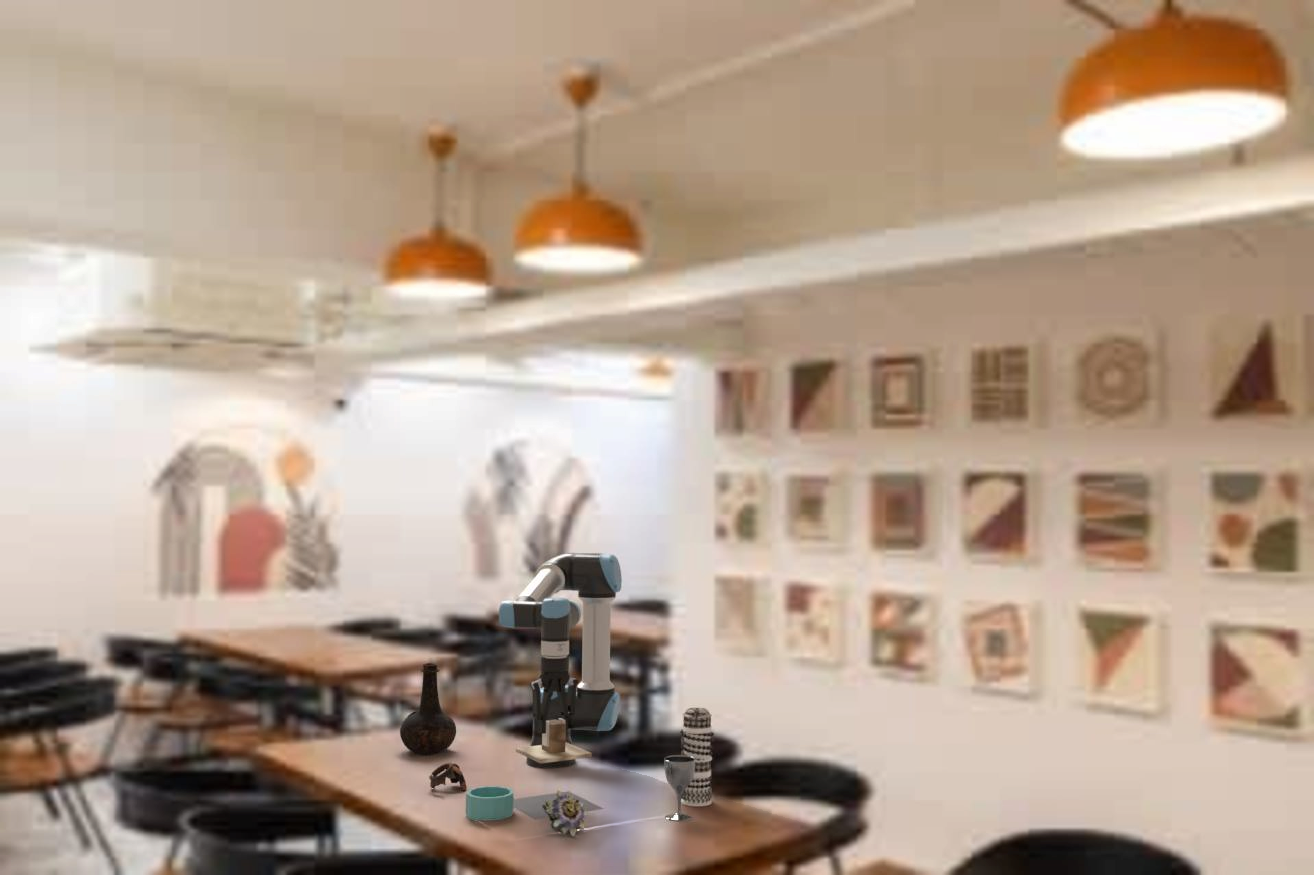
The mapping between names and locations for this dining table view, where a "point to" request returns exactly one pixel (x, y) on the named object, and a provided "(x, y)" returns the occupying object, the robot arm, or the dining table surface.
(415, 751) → the glass bottle
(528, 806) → the mat
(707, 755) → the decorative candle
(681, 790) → the wine glass
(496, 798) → the bowl
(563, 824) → the passion flower
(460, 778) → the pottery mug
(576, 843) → the dining table surface
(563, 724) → the lid
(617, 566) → the robot arm
